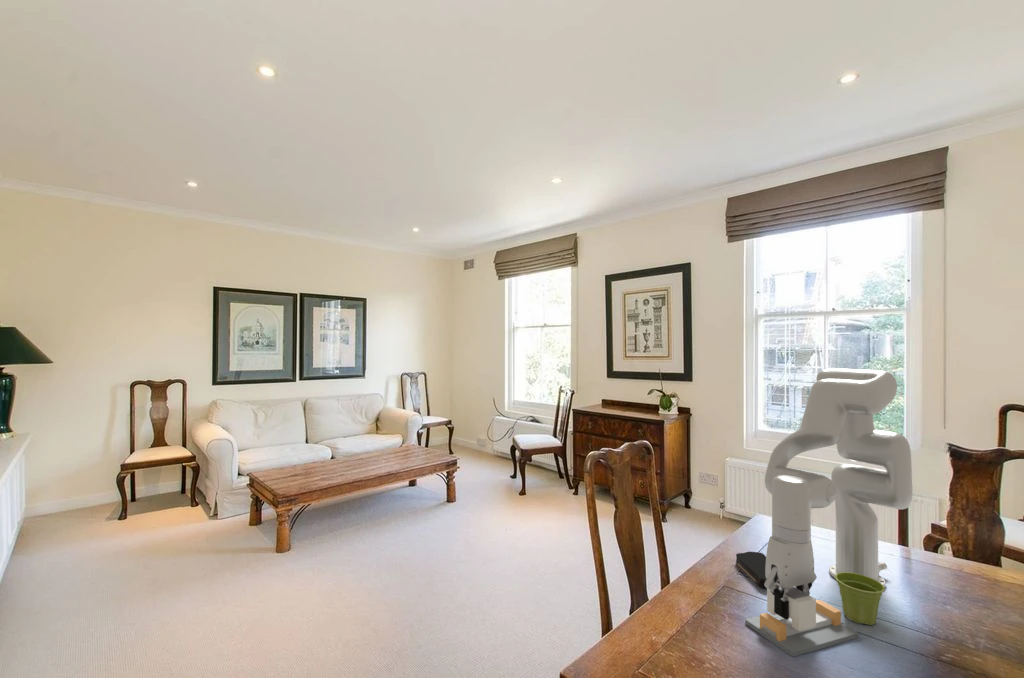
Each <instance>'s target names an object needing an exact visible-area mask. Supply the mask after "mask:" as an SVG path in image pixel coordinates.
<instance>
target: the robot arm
mask: <svg viewBox="0 0 1024 678" xmlns="http://www.w3.org/2000/svg"><path fill="white" fill-rule="evenodd" d="M897 390H898V383H897V380H896V377H895V376H894V374H892V372H889V371H886V370H876V369H857V368H856V369H855V368H826V369H822V370H820V371H819V372H818V373H817V375H816V381H815V382H814V383H813V384H812V386H811V388H810V391H809V395H808V399H807V401H806V405H805V409H804V413H803V416H802V420H801V424H800V427H799V428H798V429H797V430H796V431H794V432H793V433H791V434H789V435H788V436H786V437H784V438H783V439H782V440H781V441H780V442H779V443H778V444H777V445H776V446H775V447H774V448H773V450H772V451H771V454H770V457H769V461H768V464H767V466H766V470H765V475H764V486H765V488H766V490H767V492H768V493H769V494H770V495H771V536H769V538H768V542H767V548H766V553H765V554H766V555H765V556H766V568H765V575H766V578H767V580H766V581H765V583H764V586H765V587H766V588H768V589H769V590H770V591H771V593H772V595H773V596H774V612H775V613H776V614H778V615H779V616H781V617H782V618H784V619H786V620H787V619H789V601H787V595H788V590H789V588H790V587H795V588H797V589H798V590H800V591H802V592H804V593H806V594H808V595H809V596H811V595H810V594H811V593H810V590H811V588H812V587H813V583H815V581H816V579H817V575H816V573H815V557H814V549H813V543H812V537H811V536H812V533H811V532H812V522H811V521H812V518H811V517H812V509H823V508H827V507H829V506H830V505H831V504H832V503H835V508H834V509H835V564H832V565H830V566H829V567H828V571H829V574H830V576H831V577H833V578H834V579H835V575H836V574H837V573H840V572H851V573H857V574H861V575H864V576H867V577H870V578H872V579H874V580H877V581H878V582H880V583H881V584H882V585H883V586H884V587H885V588H886V586H887V585H886V583H887V582H886V579H885V578H883V577H882V576H881V575H880V572H882V571H884V570H887V569H888V565H887V564H886V563H885V562H884V561H880V562H879V519H878V517H877V514H876V512H875V511H874V509H873V507H872V506H871V505H876V506H880V507H885V508H890V509H896V510H905V509H908V508H909V507H910V506H911V505H912V501H913V470H912V452H911V446H910V443H909V440H908V439H907V438H906V437H905V436H904V435H903V434H901V433H899V432H895V431H890V430H889V431H888V430H881V429H876V428H875V426H874V425H875V424H874V415H877V414H879V413H880V412H882V411H883V409H885V408H886V407H887V406H888V405H889V404H890V403H891V402H893V400H894V399H895V397H896V395H897ZM834 445H836V449H837V453H838V455H839V456H840V457H841V458H843V459H845V460H848V461H852V462H855V463H856V462H857V463H862V464H868V465H873V466H879V467H883V468H885V470H884V469H881V468H873V467H868V466H864V465H863V466H862V465H860V464H854V463H853V464H852V463H842V464H838V465H837V466H835V467H834V468H833V469H832V470H831V478H829V477H828V476H825V475H822V474H818V473H814V472H810V471H805V470H802V469H801V470H800V469H797V468H796V469H795V468H792V467H791V468H790V467H787V466H788V464H789V463H790V462H791V461H792V459H794V458H795V457H796V456H798V455H800V454H802V453H806V452H808V451H809V452H810V451H814V450H817V449H822V448H826V447H830V446H834ZM870 504H871V505H870ZM779 586H780V587H781V588H783V589H782V593H781V591H780V590H779Z"/></svg>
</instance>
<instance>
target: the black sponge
mask: <svg viewBox="0 0 1024 678" xmlns="http://www.w3.org/2000/svg"><path fill="white" fill-rule="evenodd" d="M735 555H736V556H735V557H736V559H735V565H736V566H738V567H739V568H740V569H741V570H742V571H743V572H744V573H745V574H746V575H747V576H748V577H750V578H751V580H753V582H755V584H756V586H758V587H759V588H761V589H763V590H764V589H766V590H767V588H766V587H765V586H764V583H765V581H766V580H767V578H766V575H765V568H766V555H765V554H764V553H763V552H756V551H746V552H741V553H740V552H738V553H736V554H735Z"/></svg>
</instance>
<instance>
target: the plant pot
mask: <svg viewBox="0 0 1024 678" xmlns="http://www.w3.org/2000/svg"><path fill="white" fill-rule="evenodd" d="M834 579H835V580H836V582H837V586H838V588H839V593H840V598H841V605H842V610H843V614H844V615H845V617H846V618H847V619H849V620H851V621H852V622H855V623H857V624H859V625H860V624H861V625H862V624H864V625H867V626H873V625H875V624H876V623H877V620H878V619H877V618H878V613H879V606H880V600H881V597H882V596H883V593H884V592H885V589H886V587H884V586H883V585H882V584H881V583H880V582H878V581H877V580H874V579H872V578H870V577H867V576H864V575H861V574H857V573H851V572H840V573H837V574H836V575H835V578H834Z"/></svg>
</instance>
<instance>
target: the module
mask: <svg viewBox="0 0 1024 678" xmlns="http://www.w3.org/2000/svg"><path fill="white" fill-rule="evenodd" d="M782 589H783V588H781V587H780V586H779V590H780V591H781V593H782ZM816 600H817V599H816V598H815V597H813V596H811V595H808V594H806V593H804V592H802V591H800V590H798V589H797V588H795V587H790V588H789V590H788V595H787V601H789V618H791V619H792V627H793V628H795V629H796V630H798V631H802V630H806V629H810V628H814V627H816ZM766 602H767V603H766V611H767V613H771V614H773V615H776V613H775V612H774V596H773V595H772V593H771V591H770V590H769V589H768V588H767V589H766Z"/></svg>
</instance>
